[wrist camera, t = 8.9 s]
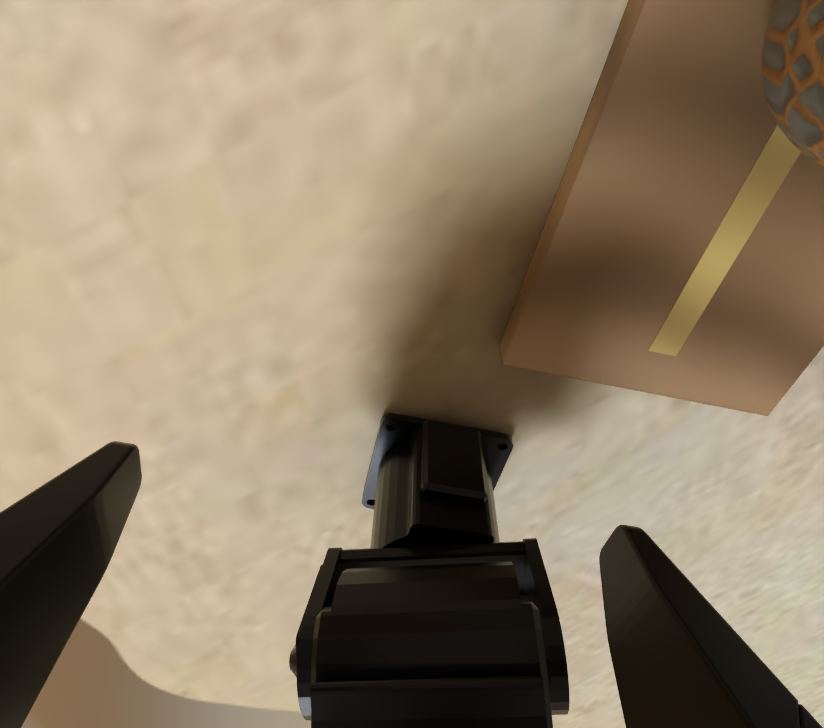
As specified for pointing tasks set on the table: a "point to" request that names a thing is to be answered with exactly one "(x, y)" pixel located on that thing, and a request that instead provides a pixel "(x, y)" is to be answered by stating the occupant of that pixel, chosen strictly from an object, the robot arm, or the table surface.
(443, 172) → the table surface
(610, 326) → the wooden board with block
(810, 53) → the vase
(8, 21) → the table surface
